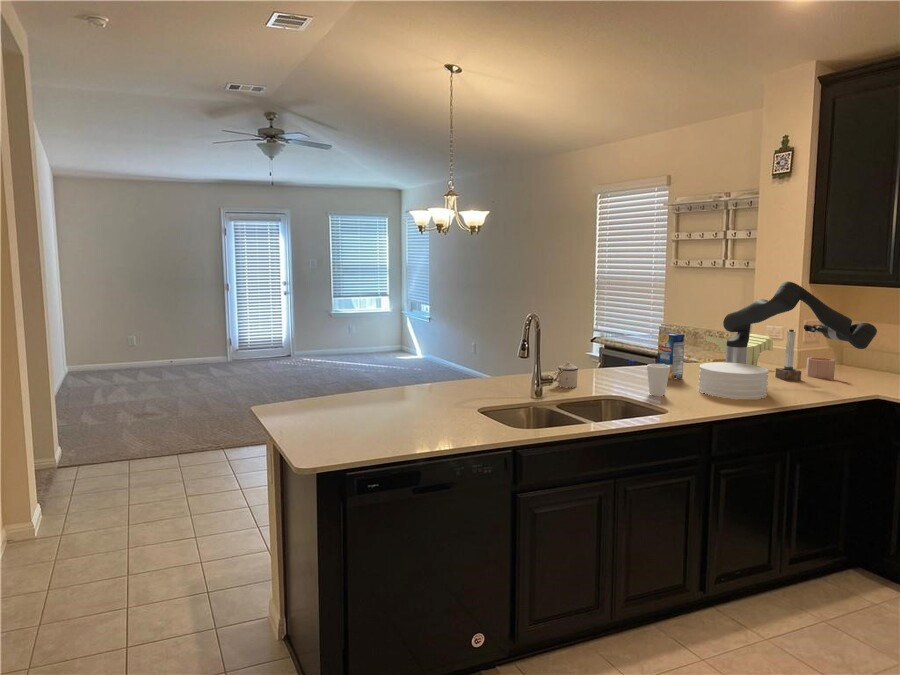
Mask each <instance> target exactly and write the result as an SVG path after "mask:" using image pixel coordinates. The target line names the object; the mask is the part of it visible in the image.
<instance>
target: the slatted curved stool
mask: <svg viewBox="0 0 900 675" xmlns="http://www.w3.org/2000/svg"><path fill="white" fill-rule="evenodd" d="M727 340H728V339H725V338H723V337H722V338H721V337H717V336H710V335H705V341H706V342H709V343H712V344H713V345H717V346H718V347H719V350H720V353H722V354H726V346H727ZM773 347H774V341H773V339H772V337H770V336H768V335H762V334H756V333H750V335H749V341H748V345H747V361H746V364H749V365H755V366H758V361H759V358H760V356H761V355H760V354H762V353H763V352H765V351H771V352H773V349H774V348H773Z"/></svg>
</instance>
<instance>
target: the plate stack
mask: <svg viewBox="0 0 900 675" xmlns="http://www.w3.org/2000/svg"><path fill="white" fill-rule="evenodd" d="M698 374H699V376H698V388H697V389H698V390H699V391H701V392H703V393H706V394H709V395H713V396H718V397H717V398H719V397H723V398H722V399H726V398H731V399H730V400H738V399H755V400H761V398H762V399H765V398H767V397H766V396H768V385H769V383H768V379H769V375H768V374H769V369H768V368H766V367H763V366H760V365H757V366H755V365H749V364H741V363H725V361H724V362H723V361H721V362H705V363H701V364H699V370H698ZM698 390H697V391H698ZM699 391H698V392H699ZM703 393H702V394H703ZM709 395H708V396H709ZM713 396H712V397H713ZM764 397H765V398H764Z"/></svg>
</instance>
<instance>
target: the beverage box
mask: <svg viewBox="0 0 900 675" xmlns="http://www.w3.org/2000/svg"><path fill="white" fill-rule="evenodd" d="M685 337H686V335H685V334H683V333H677V332H669V331H667V332H665V331H663V332H658V338H657V340H658V341H657V343H658V344H657V360H656V364H664V365H669V366H670V372H669V376H668V378H670V379H669V380H671V379H673V380H675V379H674V378H683V374H684V359H685V358H684V357H685V356H684V355H685Z"/></svg>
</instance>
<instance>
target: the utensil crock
mask: <svg viewBox="0 0 900 675" xmlns="http://www.w3.org/2000/svg"><path fill="white" fill-rule="evenodd" d="M835 367H836V360H835V359H834V358H828V357H824V356H823V357H821V356H820V357H819V356H817V357H816V356H812V357H811V356H809V357H806V368H805V369H806V371H805V376H807V377H810V378H815V379H817V378H818V379H828V380H831V381H834V380H835V369H836V368H835Z"/></svg>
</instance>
